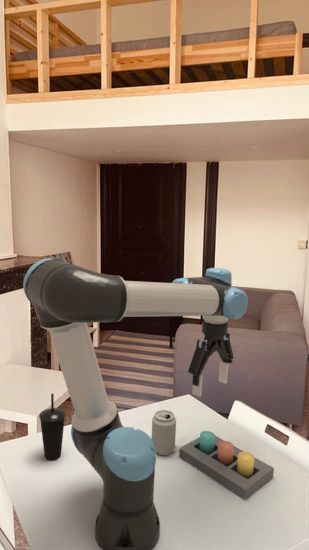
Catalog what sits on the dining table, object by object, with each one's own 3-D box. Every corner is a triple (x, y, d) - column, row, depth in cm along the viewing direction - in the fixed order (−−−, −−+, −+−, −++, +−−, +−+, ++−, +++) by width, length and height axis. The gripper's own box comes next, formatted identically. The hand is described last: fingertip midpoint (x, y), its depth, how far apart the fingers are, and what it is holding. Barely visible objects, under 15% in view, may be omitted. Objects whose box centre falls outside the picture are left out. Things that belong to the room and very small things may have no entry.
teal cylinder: (207, 456, 121) (208, 441, 120) (196, 449, 124) (196, 434, 123) (217, 450, 124) (218, 435, 123) (205, 443, 127) (206, 429, 126)
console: (244, 500, 106) (245, 489, 106) (178, 457, 123) (179, 448, 123) (273, 477, 116) (273, 467, 115) (208, 440, 133) (208, 432, 132)
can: (172, 458, 123) (174, 422, 121) (148, 454, 124) (150, 418, 122) (176, 444, 130) (178, 410, 128) (153, 441, 131) (155, 406, 129)
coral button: (226, 467, 116) (227, 452, 115) (213, 460, 119) (214, 444, 118) (235, 461, 119) (237, 445, 118) (223, 454, 122) (224, 439, 121)
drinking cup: (46, 467, 116) (46, 402, 113) (35, 454, 122) (34, 392, 119) (70, 457, 121) (70, 395, 118) (58, 445, 127) (57, 386, 124)
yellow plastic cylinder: (246, 480, 111) (248, 463, 110) (233, 471, 114) (234, 455, 113) (256, 473, 114) (257, 457, 113) (242, 465, 117) (243, 449, 116)
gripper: (200, 331, 107) (195, 405, 111) (248, 316, 125) (242, 381, 129) (178, 325, 112) (174, 396, 116) (227, 311, 131) (222, 373, 134)
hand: (210, 388), depth 122 cm, fingers open, 13 cm apart
